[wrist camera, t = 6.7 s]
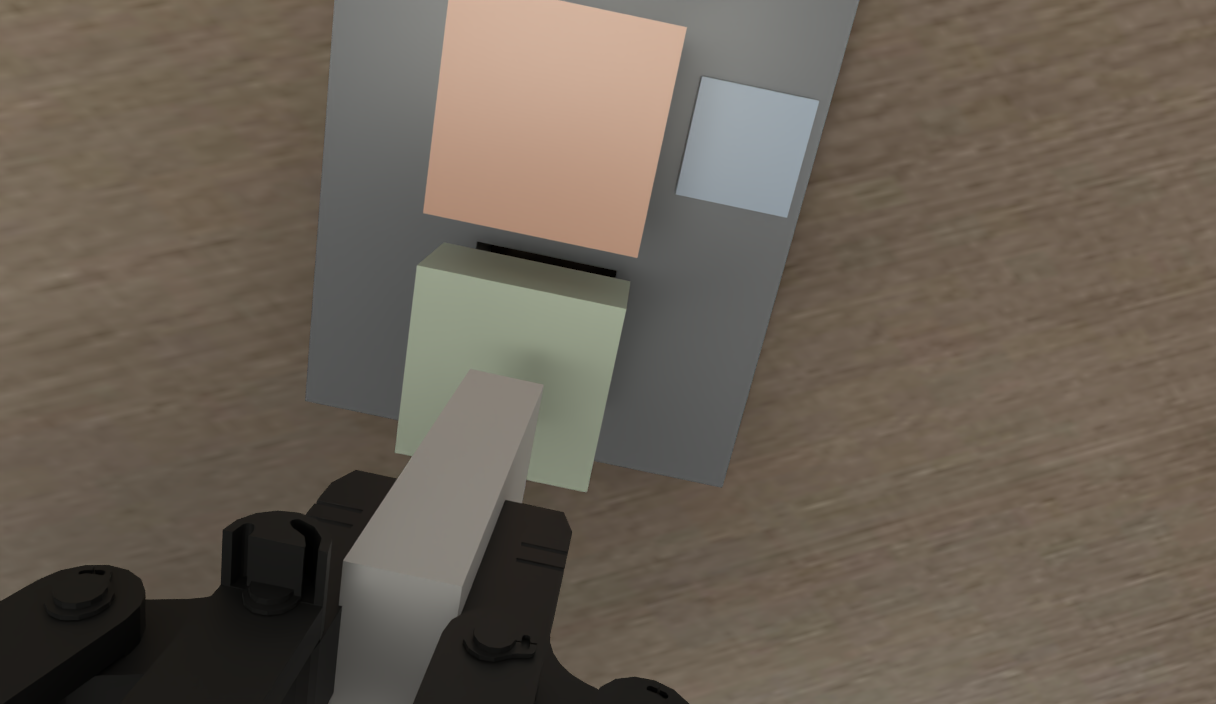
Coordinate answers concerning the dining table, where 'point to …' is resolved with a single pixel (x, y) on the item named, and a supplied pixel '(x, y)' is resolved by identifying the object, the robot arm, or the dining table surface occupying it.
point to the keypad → (660, 276)
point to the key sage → (515, 349)
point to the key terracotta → (551, 119)
